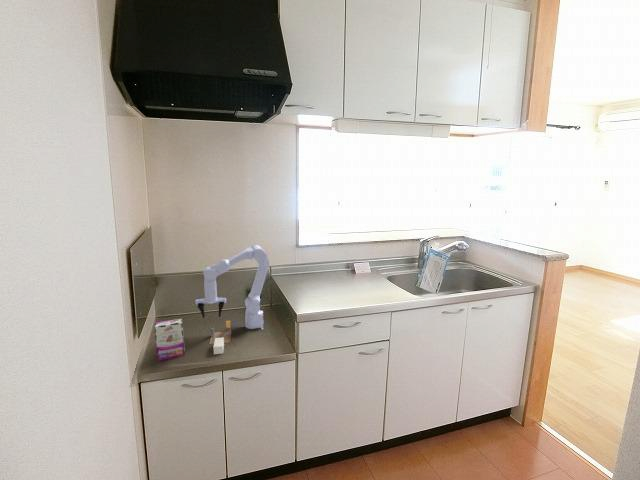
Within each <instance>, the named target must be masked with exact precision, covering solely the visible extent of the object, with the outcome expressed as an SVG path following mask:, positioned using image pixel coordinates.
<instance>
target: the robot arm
mask: <svg viewBox="0 0 640 480" xmlns="http://www.w3.org/2000/svg"><path fill="white" fill-rule="evenodd" d="M245 260H252V261H253V260H255V261H257V263H258V266H257V270H256V273H255V277H254V280H253V284H252V287H251V290H250V292H249V293H248V294H247V297H246V298H245V300H244V305H245V307H246V309H245V311H244V313H245V321H244V323H246V327H245V328H246V329H249V330H254V329H255V330H256V329H261V330H262V331H263V330H264V323H265V322H264V311H263V310H261V305H260V304H261V298H260V297H261V294H262V291H263V286H264V285H265V284H264V283H265V280H266V278H267V274H268V271H269V267H270V261H269V258H268V253H267V252H266V251H265V250H264V249H263V248H262V247H261V246H260V245H258V244H253V245H251V246H249V247H247V248H246V249H244V250H242V251H241V252H239V253H237V254H236V255H234V256H233V257H231V258H229V259H220V260H219V262H216V263H215V264H211V265H210V266H207V267H205V268H204V269H203V271H202V274H203V277H204V278H203V279H204V281H203V283H204V284H203V285H204V286H203V287H204V298H200V299H199V298H198V299H195V301H194V302H195V305H197V308H198V310H199V311H200V313H201V315H202V319H205V317H206V314H205V313H206V312H205V305H206V304H208V305H210V304H211V305H212V304H218V317H219V318H221V313H222V310H223V308H224V305H225V304H226V303H227V297H218V293H217V292H218V289H217V277H218V276H220V275H222V274H224V273H227V272H228V271H229V270H231V267H232V266H234V265H236V264H238V263H240V262H242V261H245Z"/></svg>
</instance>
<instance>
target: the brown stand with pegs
mask: <svg viewBox="0 0 640 480" xmlns="http://www.w3.org/2000/svg"><path fill="white" fill-rule="evenodd" d="M231 330H232V329H231V328H227V331H217V332H215V327H211V328H210V340H209V345H212V344H213V345H214V341H215V338H223V337H224V344H227V343H231V341H232V339H231V338H232V331H231Z"/></svg>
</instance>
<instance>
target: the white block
mask: <svg viewBox="0 0 640 480" xmlns="http://www.w3.org/2000/svg"><path fill="white" fill-rule="evenodd" d="M212 349H213V355H220V354H224V349H225V343H224V337H223V338H215V341H214V344H213V347H212Z"/></svg>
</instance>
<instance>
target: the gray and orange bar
mask: <svg viewBox="0 0 640 480" xmlns="http://www.w3.org/2000/svg"><path fill="white" fill-rule="evenodd" d="M243 327H245V328H246V323H245V322H236V323H235V322H234V323H231V320H225V329H228V328H243Z"/></svg>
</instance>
